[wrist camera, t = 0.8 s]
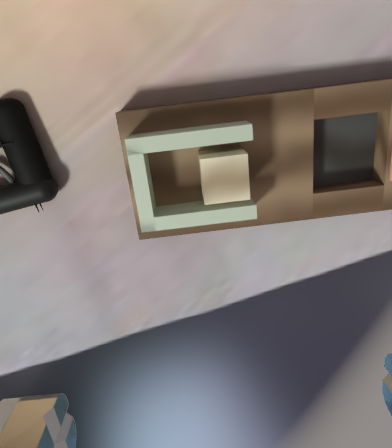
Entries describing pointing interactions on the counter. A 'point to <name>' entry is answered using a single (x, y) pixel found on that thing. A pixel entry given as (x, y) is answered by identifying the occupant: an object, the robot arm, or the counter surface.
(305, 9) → the counter surface
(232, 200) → the cube
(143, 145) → the cubby
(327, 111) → the board
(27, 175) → the door handle
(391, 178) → the tile
